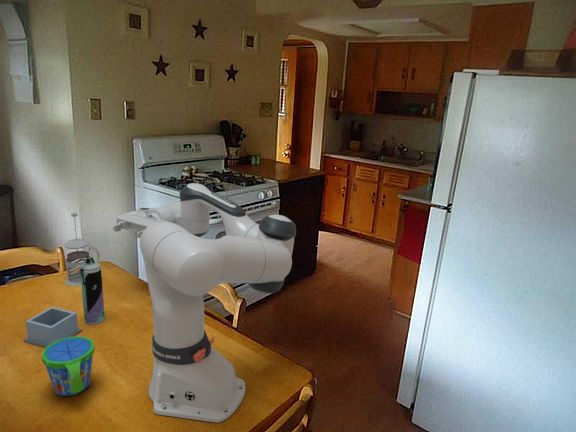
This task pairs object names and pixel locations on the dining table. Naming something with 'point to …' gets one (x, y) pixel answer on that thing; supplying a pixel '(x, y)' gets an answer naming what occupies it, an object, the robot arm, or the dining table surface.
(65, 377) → the snack cup
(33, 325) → the collar stand
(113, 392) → the dining table surface
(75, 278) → the french press
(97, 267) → the spray can
